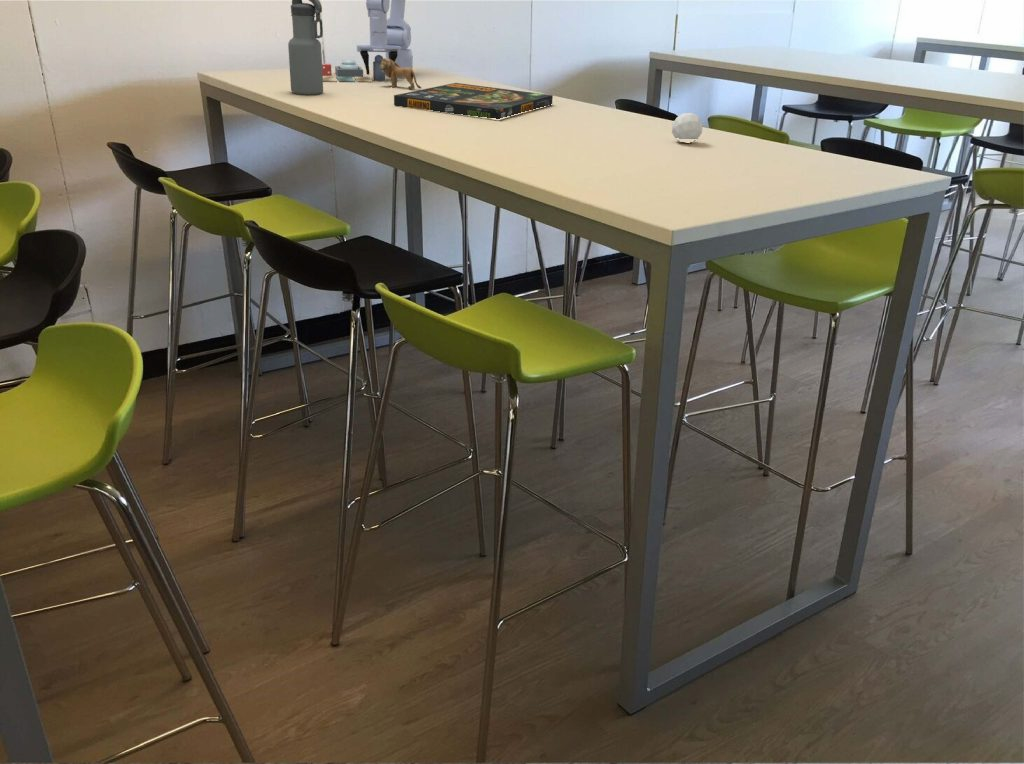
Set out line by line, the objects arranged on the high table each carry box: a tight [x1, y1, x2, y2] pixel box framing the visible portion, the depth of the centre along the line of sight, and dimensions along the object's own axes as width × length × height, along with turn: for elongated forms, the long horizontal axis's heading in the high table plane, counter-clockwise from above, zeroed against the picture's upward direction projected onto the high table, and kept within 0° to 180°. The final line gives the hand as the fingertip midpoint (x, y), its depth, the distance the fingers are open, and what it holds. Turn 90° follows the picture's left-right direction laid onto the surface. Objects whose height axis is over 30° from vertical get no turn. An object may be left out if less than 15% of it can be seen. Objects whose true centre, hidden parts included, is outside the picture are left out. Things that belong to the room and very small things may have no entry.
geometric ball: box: [671, 112, 703, 140], centre depth 229 cm, size 8×8×8 cm
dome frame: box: [334, 65, 364, 78], centre depth 312 cm, size 9×9×2 cm
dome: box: [339, 59, 359, 70], centre depth 311 cm, size 6×6×4 cm
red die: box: [322, 63, 332, 76], centre depth 310 cm, size 4×4×4 cm
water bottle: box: [287, 0, 324, 96], centre depth 268 cm, size 10×10×28 cm
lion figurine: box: [380, 57, 422, 91], centre depth 290 cm, size 15×5×9 cm, turn 71°
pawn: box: [372, 54, 386, 82], centre depth 303 cm, size 4×4×8 cm
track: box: [323, 75, 374, 83], centre depth 302 cm, size 17×10×1 cm, turn 106°
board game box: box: [393, 82, 554, 119], centre depth 267 cm, size 35×35×4 cm
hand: (379, 74), depth 304 cm, fingers open, 7 cm apart
